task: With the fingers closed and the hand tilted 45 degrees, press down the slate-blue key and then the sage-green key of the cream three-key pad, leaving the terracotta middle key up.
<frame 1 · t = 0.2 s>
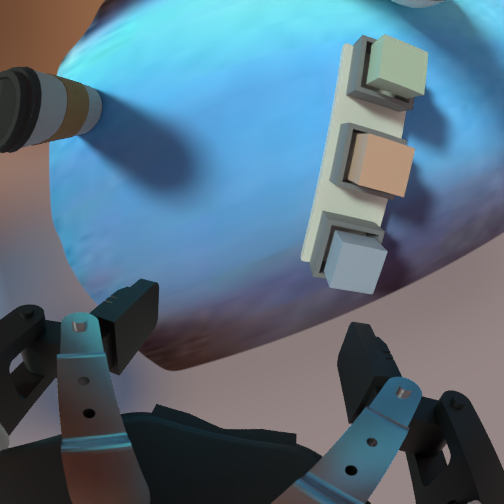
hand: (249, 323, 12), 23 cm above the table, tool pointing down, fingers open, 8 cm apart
terracotta key: (380, 164, 23), point 7 cm above the table, slide at 0.0 cm
sage key: (397, 67, 20), point 7 cm above the table, slide at 0.0 cm
coffee cup: (84, 110, 29), on the table
slate key: (354, 261, 27), point 7 cm above the table, slide at 0.0 cm
keypad board: (358, 158, 30), on the table
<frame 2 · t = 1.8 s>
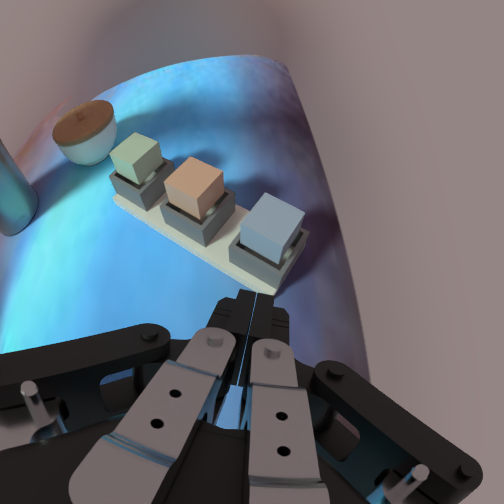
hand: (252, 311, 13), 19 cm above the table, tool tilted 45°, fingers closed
lidded jar: (95, 153, 43), on the table
terracotta key: (195, 187, 31), point 7 cm above the table, slide at 0.0 cm
sage key: (136, 157, 33), point 7 cm above the table, slide at 0.0 cm
slate key: (271, 228, 29), point 7 cm above the table, slide at 0.0 cm
keypad board: (201, 223, 37), on the table
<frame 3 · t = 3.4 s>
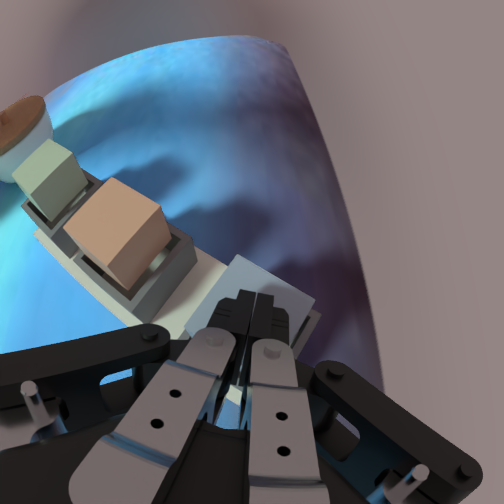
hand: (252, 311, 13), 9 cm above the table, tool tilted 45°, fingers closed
lidded jar: (31, 166, 29), on the table
terracotta key: (118, 232, 17), point 7 cm above the table, slide at 0.0 cm
sage key: (48, 178, 19), point 7 cm above the table, slide at 0.0 cm
slate key: (249, 323, 15), point 7 cm above the table, slide at 0.3 cm, touching gripper
keypad board: (147, 278, 23), on the table
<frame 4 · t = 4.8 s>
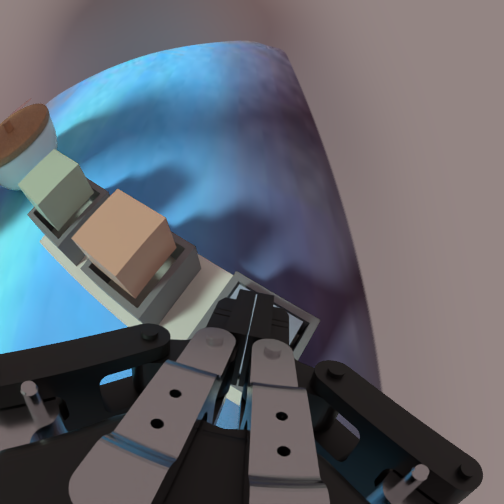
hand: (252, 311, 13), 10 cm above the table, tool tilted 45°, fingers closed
lidded jar: (36, 173, 30), on the table
terracotta key: (124, 243, 17), point 7 cm above the table, slide at 0.0 cm
sage key: (54, 188, 20), point 7 cm above the table, slide at 0.0 cm
slate key: (250, 339, 18), point 4 cm above the table, slide at 3.0 cm
keypad board: (152, 285, 24), on the table
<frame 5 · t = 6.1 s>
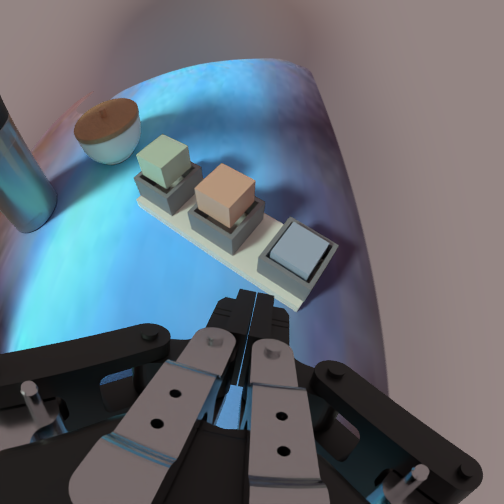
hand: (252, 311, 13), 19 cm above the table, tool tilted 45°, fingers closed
lidded jar: (118, 153, 44), on the table
terracotta key: (225, 195, 31), point 7 cm above the table, slide at 0.0 cm
sage key: (164, 160, 33), point 7 cm above the table, slide at 0.0 cm
slate key: (298, 255, 31), point 4 cm above the table, slide at 3.0 cm
keypad board: (227, 230, 37), on the table
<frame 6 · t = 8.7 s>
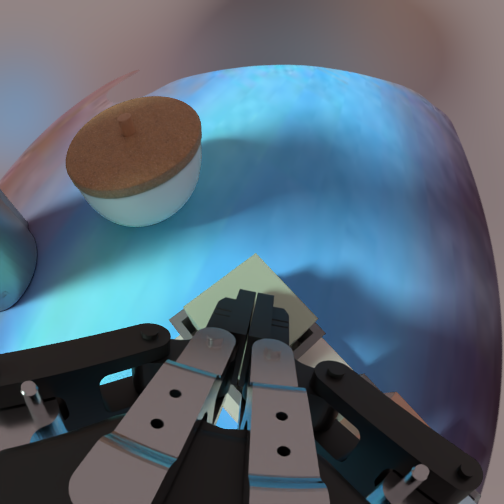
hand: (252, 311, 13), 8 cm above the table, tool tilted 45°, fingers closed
lidded jar: (150, 199, 26), on the table
terracotta key: (376, 451, 11), point 7 cm above the table, slide at 0.0 cm
sage key: (249, 323, 15), point 6 cm above the table, slide at 0.9 cm, touching gripper
keypad board: (333, 437, 17), on the table
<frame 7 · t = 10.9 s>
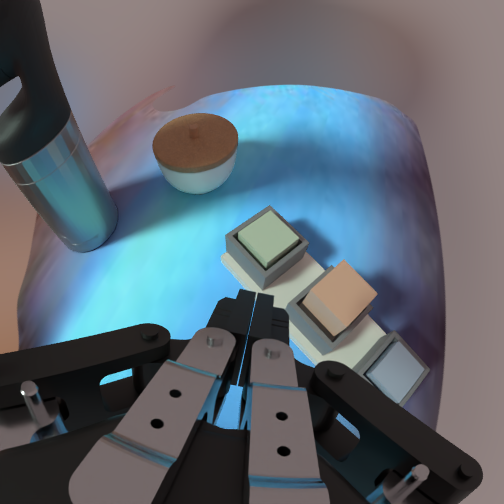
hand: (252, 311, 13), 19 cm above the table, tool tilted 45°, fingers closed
lidded jar: (200, 178, 41), on the table
terracotta key: (339, 298, 26), point 7 cm above the table, slide at 0.0 cm
sage key: (267, 243, 32), point 4 cm above the table, slide at 3.0 cm
slate key: (391, 373, 25), point 4 cm above the table, slide at 3.0 cm
keypad board: (319, 319, 32), on the table
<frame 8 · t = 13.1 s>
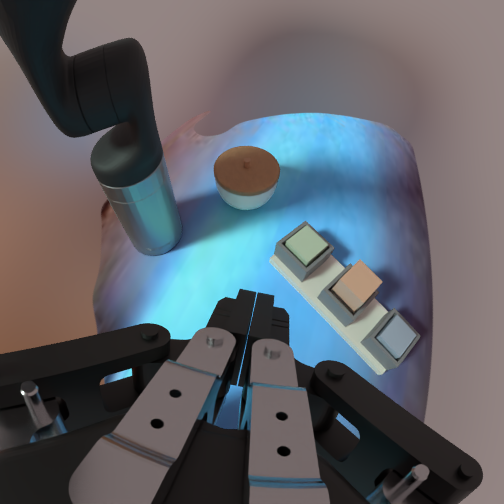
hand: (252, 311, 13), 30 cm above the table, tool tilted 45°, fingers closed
lidded jar: (245, 197, 53), on the table
terracotta key: (357, 285, 38), point 7 cm above the table, slide at 0.0 cm
sage key: (305, 248, 44), point 4 cm above the table, slide at 3.0 cm
slate key: (393, 338, 38), point 4 cm above the table, slide at 3.0 cm
keypad board: (341, 302, 44), on the table
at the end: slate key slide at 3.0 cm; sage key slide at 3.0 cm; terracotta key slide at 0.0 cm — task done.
